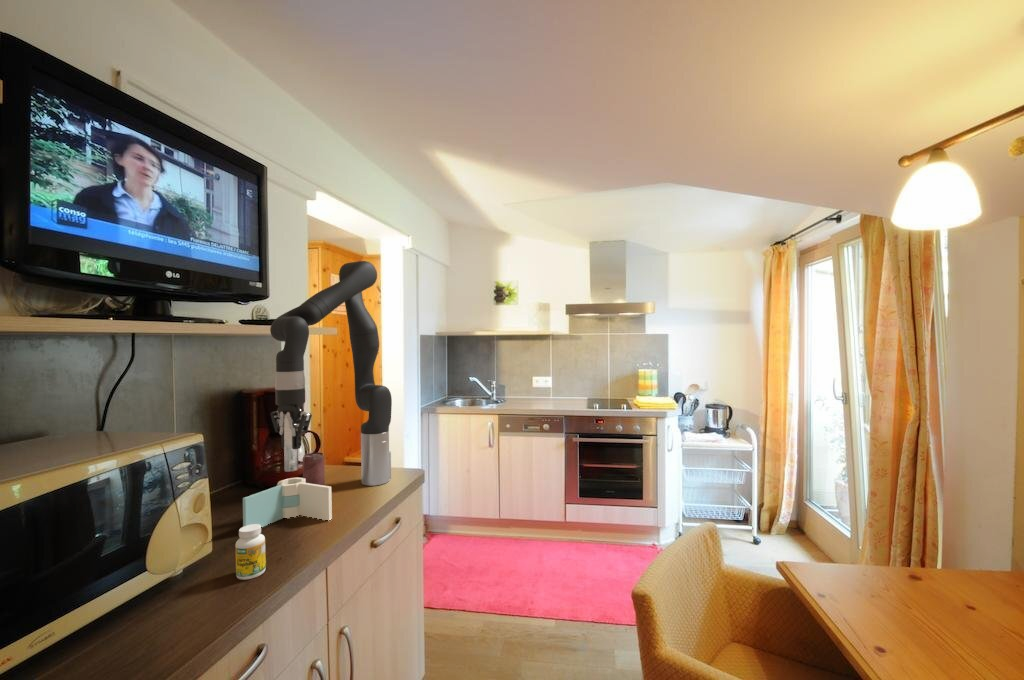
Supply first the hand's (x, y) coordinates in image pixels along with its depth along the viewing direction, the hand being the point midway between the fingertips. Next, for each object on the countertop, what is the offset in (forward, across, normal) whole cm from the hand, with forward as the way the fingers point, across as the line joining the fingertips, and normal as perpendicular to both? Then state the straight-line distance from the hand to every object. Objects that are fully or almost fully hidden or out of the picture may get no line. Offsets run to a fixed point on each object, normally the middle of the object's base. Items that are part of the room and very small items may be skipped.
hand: (291, 447), depth 125 cm
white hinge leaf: (+18, -5, 0) cm, 19 cm away
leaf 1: (+18, 0, +5) cm, 19 cm away
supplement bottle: (+19, -20, +27) cm, 38 cm away
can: (+19, +2, -10) cm, 21 cm away
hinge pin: (+6, 0, 0) cm, 6 cm away
